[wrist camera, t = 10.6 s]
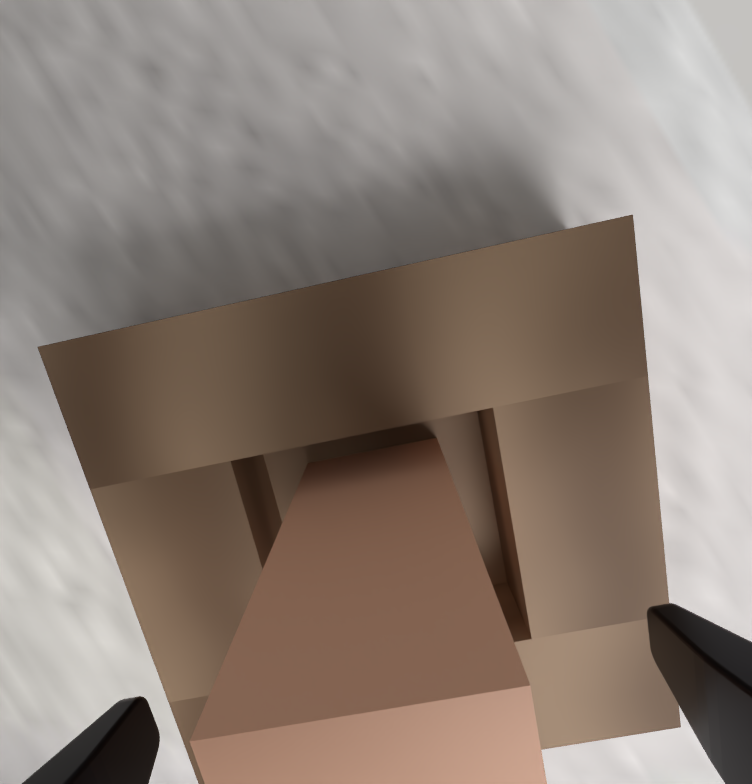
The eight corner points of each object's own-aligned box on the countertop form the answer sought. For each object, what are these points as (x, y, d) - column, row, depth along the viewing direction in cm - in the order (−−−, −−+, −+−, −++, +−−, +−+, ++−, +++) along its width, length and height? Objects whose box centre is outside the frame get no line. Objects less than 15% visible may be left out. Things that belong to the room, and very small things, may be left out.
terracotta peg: (337, 577, 15) (275, 979, 6) (307, 462, 14) (189, 742, 5) (459, 555, 15) (572, 939, 6) (436, 437, 14) (530, 684, 5)
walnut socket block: (240, 702, 17) (206, 803, 14) (118, 333, 14) (37, 346, 11) (618, 636, 17) (680, 727, 13) (570, 233, 14) (632, 214, 10)
